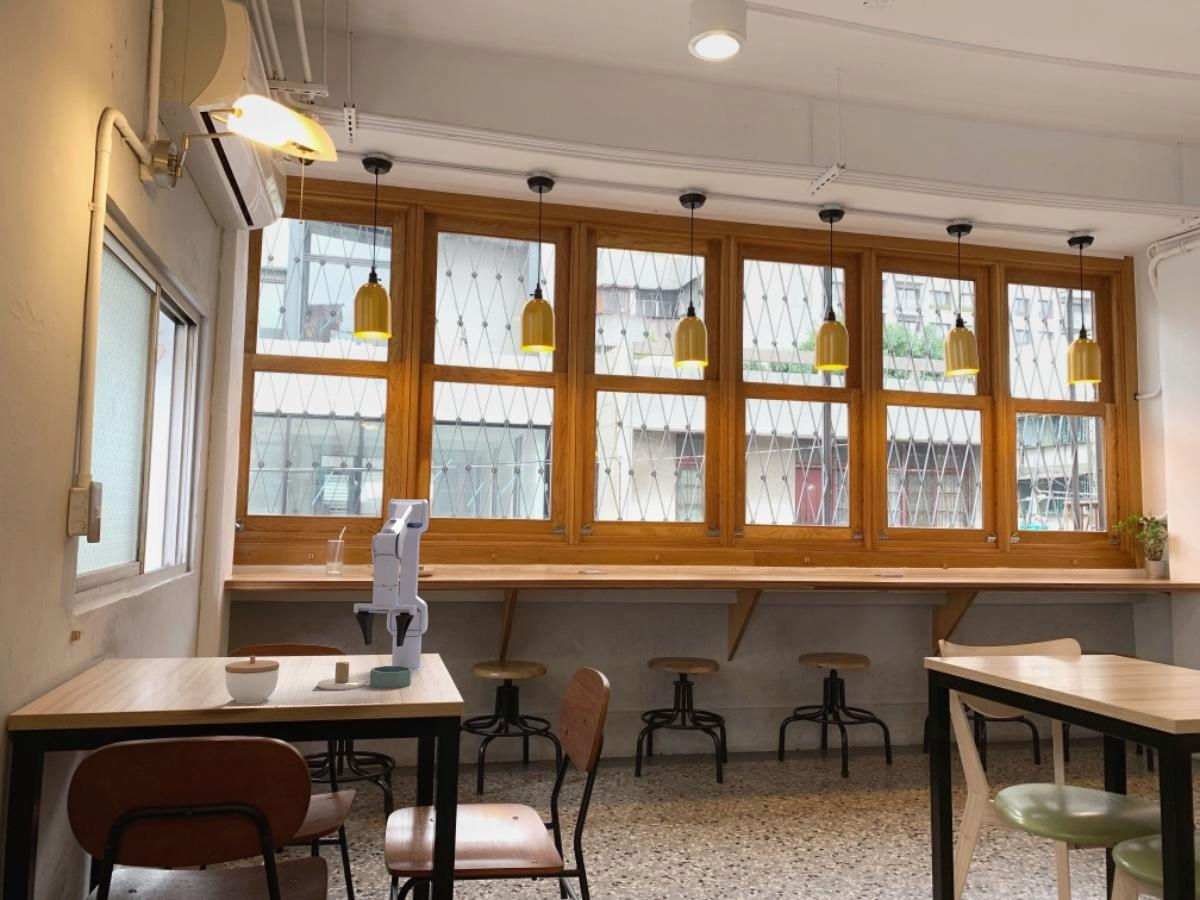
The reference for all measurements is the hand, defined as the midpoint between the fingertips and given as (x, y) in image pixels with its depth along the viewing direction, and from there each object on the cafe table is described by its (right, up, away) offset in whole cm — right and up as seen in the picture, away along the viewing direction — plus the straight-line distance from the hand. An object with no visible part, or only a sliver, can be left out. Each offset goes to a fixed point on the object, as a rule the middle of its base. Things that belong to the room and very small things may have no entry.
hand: (384, 645), depth 209 cm
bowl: (+1, -10, +3) cm, 11 cm away
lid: (-10, -9, +1) cm, 14 cm away
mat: (-10, -10, +1) cm, 14 cm away
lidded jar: (-24, -9, -16) cm, 30 cm away
